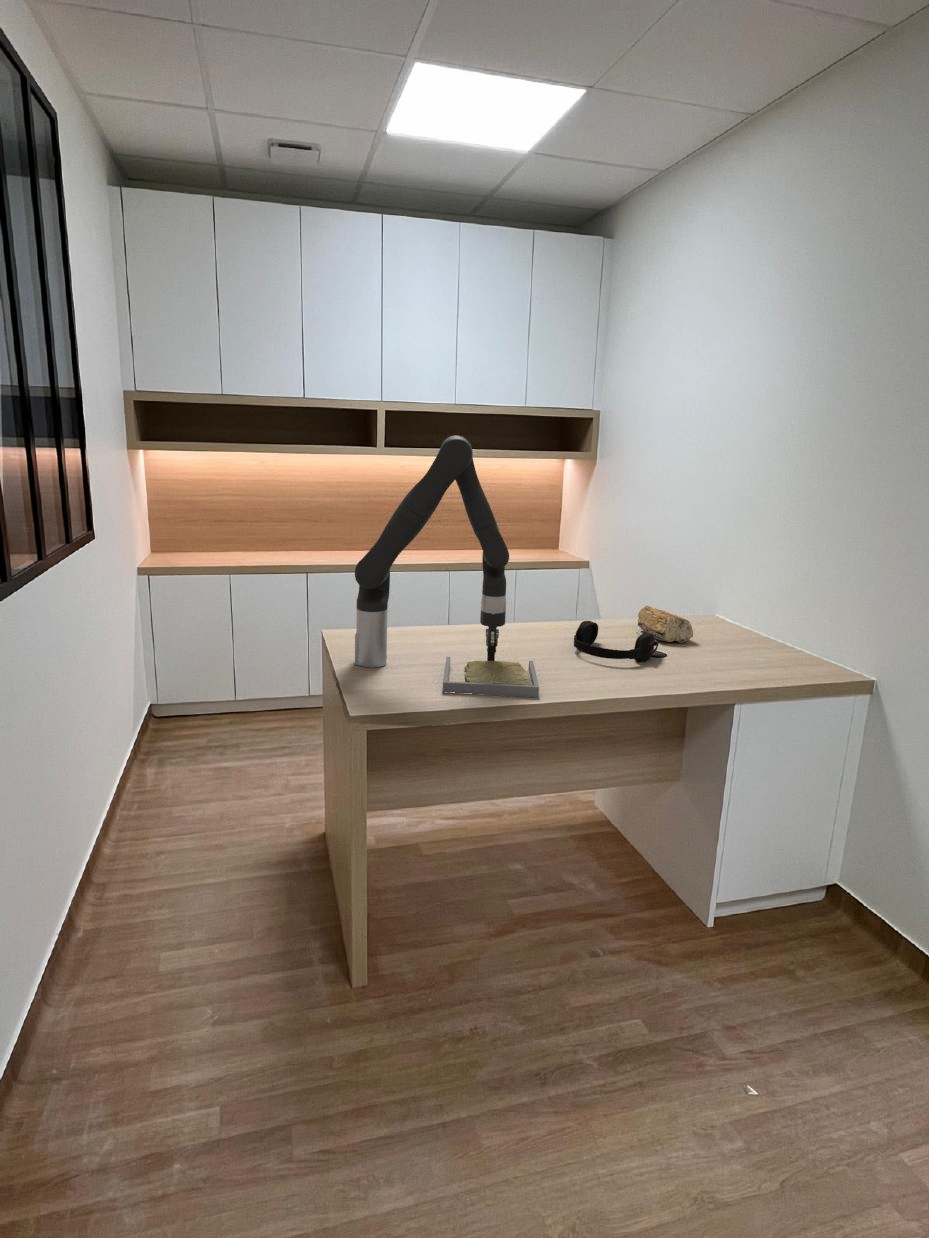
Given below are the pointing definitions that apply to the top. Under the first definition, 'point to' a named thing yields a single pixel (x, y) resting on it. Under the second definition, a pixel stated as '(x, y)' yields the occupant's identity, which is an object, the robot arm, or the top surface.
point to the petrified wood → (664, 625)
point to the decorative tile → (496, 673)
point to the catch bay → (492, 685)
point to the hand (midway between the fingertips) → (490, 663)
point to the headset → (589, 634)
